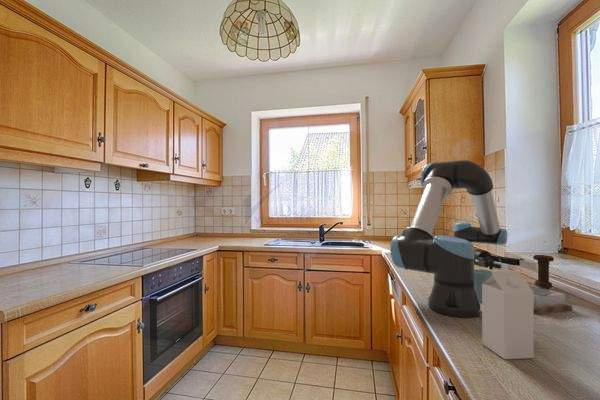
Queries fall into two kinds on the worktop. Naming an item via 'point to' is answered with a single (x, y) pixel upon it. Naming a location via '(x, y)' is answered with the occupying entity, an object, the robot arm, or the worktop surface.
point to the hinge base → (548, 301)
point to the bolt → (543, 271)
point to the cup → (480, 281)
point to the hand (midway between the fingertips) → (522, 267)
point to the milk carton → (508, 315)
